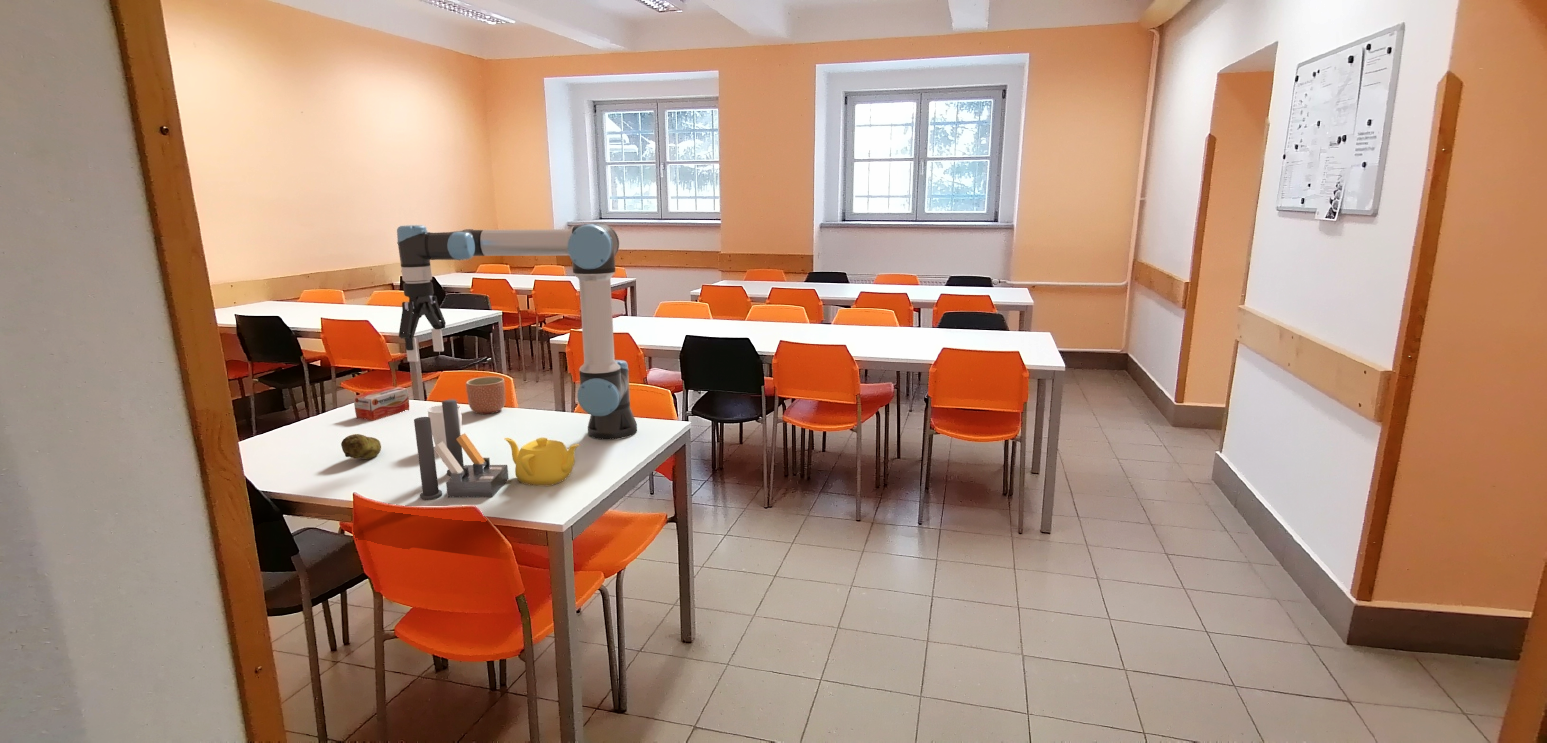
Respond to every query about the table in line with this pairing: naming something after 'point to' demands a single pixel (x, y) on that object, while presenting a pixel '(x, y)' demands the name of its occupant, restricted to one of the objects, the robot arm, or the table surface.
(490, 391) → the planter
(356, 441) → the potato
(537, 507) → the table surface
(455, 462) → the ivory paddle
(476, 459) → the orange paddle
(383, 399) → the medicine box
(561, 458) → the teapot
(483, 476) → the breaker panel
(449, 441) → the post
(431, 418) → the cup
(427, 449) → the cable post
